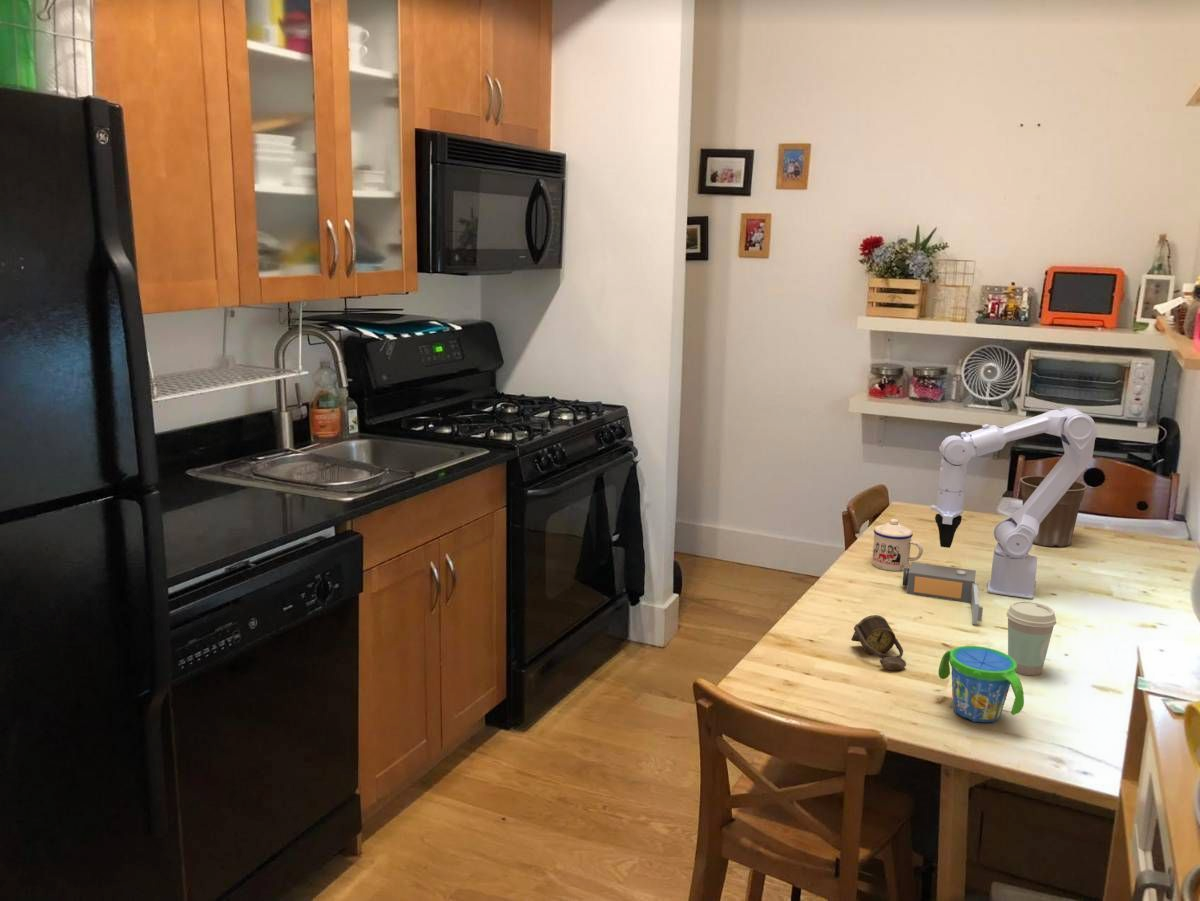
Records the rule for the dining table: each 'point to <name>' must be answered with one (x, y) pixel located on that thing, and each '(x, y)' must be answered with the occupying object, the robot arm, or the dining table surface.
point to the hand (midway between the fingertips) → (945, 546)
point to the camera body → (939, 581)
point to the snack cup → (981, 682)
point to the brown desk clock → (879, 641)
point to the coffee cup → (1029, 635)
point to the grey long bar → (975, 604)
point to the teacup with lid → (893, 546)
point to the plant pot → (1056, 513)
